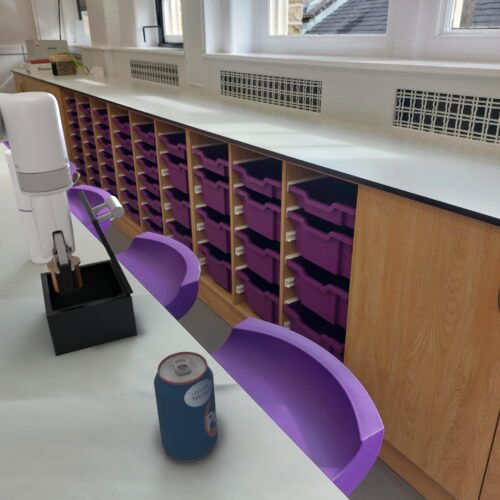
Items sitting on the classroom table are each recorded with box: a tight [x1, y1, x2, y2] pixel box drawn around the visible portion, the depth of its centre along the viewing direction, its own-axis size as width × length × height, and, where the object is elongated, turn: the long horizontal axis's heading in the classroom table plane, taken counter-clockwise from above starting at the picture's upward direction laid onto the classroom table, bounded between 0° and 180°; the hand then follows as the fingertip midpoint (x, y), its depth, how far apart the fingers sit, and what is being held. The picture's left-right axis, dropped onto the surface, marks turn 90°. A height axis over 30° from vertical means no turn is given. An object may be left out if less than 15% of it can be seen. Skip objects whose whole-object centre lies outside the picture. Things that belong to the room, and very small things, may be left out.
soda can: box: [153, 351, 219, 463], centre depth 59 cm, size 7×7×12 cm
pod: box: [46, 255, 83, 292], centre depth 80 cm, size 5×5×4 cm
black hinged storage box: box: [39, 258, 138, 357], centre depth 83 cm, size 13×16×9 cm
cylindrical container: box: [4, 149, 53, 265], centre depth 108 cm, size 7×7×25 cm
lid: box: [77, 190, 134, 295], centre depth 81 cm, size 14×16×5 cm
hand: (68, 284), depth 80 cm, fingers closed on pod, 5 cm apart
